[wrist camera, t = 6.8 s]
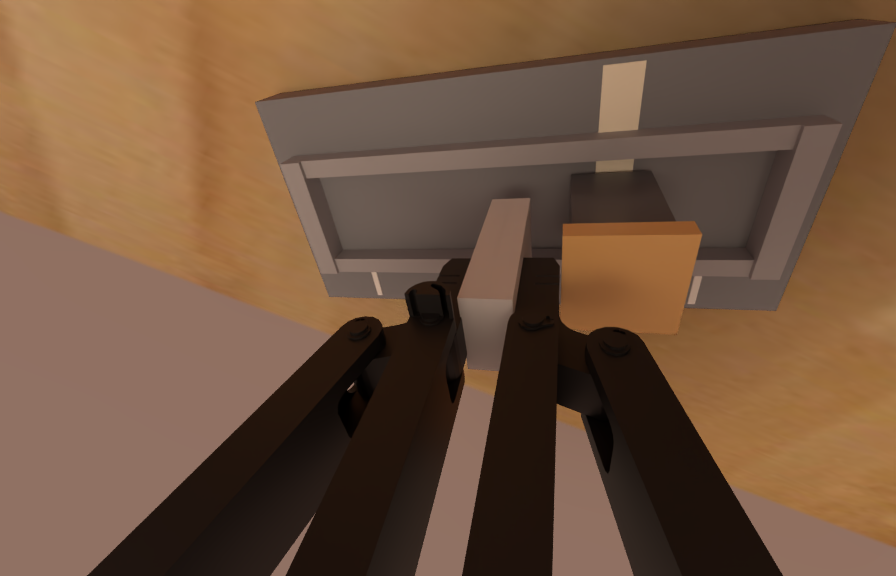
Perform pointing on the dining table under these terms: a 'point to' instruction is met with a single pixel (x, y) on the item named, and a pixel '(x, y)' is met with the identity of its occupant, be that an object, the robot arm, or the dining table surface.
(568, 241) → the fader tab
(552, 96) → the console board
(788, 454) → the dining table surface
